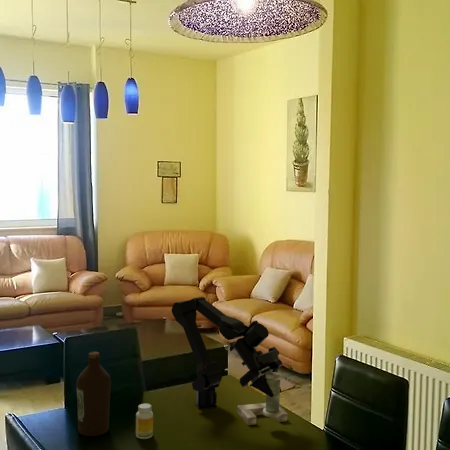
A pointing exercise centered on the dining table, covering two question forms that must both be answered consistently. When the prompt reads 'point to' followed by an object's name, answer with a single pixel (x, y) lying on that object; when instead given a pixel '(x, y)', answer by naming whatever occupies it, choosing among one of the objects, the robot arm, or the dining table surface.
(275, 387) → the bobbin
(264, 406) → the notched board
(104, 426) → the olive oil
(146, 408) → the supplement bottle
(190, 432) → the dining table surface
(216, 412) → the dining table surface
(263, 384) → the robot arm
